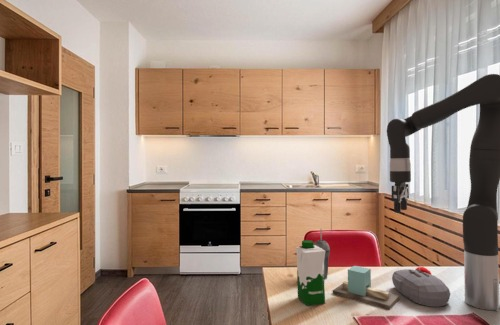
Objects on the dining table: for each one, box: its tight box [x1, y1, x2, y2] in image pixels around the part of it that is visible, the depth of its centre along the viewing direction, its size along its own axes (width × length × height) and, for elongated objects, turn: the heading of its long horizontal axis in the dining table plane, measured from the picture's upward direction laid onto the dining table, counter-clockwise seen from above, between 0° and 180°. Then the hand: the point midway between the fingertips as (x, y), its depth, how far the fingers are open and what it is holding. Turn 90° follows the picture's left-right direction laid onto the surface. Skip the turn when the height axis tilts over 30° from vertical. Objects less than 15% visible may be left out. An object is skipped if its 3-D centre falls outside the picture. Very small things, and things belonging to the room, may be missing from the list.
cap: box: [414, 266, 433, 275], centre depth 128 cm, size 8×6×6 cm
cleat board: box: [332, 281, 400, 310], centre depth 114 cm, size 20×10×3 cm, turn 49°
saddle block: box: [347, 265, 372, 296], centre depth 116 cm, size 6×6×8 cm
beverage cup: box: [313, 228, 331, 281], centre depth 133 cm, size 7×7×20 cm
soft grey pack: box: [391, 268, 451, 307], centre depth 114 cm, size 15×8×20 cm
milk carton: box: [295, 239, 326, 307], centre depth 112 cm, size 9×9×20 cm
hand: (400, 211), depth 127 cm, fingers open, 8 cm apart
